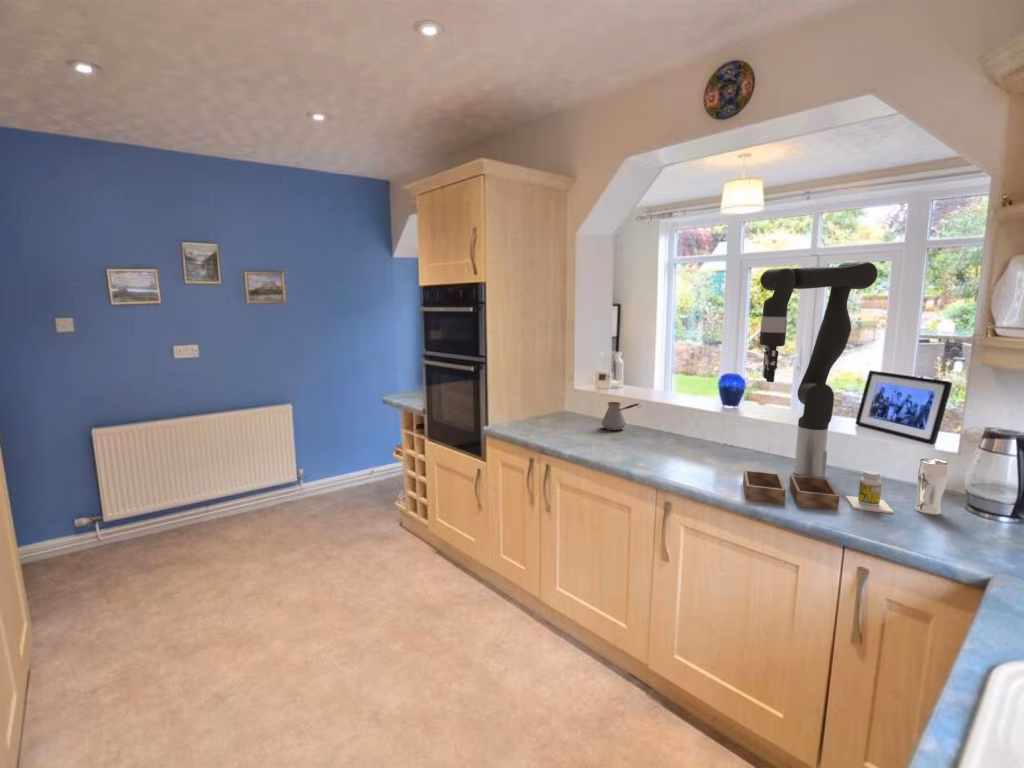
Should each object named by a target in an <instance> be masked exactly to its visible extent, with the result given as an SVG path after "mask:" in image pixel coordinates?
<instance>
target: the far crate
mask: <svg viewBox="0 0 1024 768" xmlns="http://www.w3.org/2000/svg"><path fill="white" fill-rule="evenodd" d="M742 476H743V477H742V478H743V480H742V486H743V490H744V491H743V493H744V495H745V496H744V497H745V500H746V501H752V502H760V503H768V504H769V503H770V504H777V505H785V503H786V491H787V489H786V487H785V484H784V482H783V480H782V477H781V475H780V473H776V472H775V473H774V472H767V471H756V470H746V469H744V470H743V475H742ZM751 484H753V485H751ZM760 485H761V486H760ZM769 486H770V487H769Z"/></svg>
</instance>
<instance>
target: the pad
mask: <svg viewBox="0 0 1024 768" xmlns="http://www.w3.org/2000/svg"><path fill="white" fill-rule="evenodd" d="M845 499H846V501H847V502H848V504H849V505H850V507H852V509H853V510H860V511H868V512H877V513H884V514H885V513H886V514H891V515H892V514H895V513H894V510H893V509H892V508H891V507H890V506H889V505H888V503H886V501H885V500H884V499H880V503H879V505H878V506H868V505H864V504H861V503H860V502H859V501H858V496H850V495H845Z"/></svg>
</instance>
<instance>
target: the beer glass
mask: <svg viewBox="0 0 1024 768" xmlns="http://www.w3.org/2000/svg"><path fill="white" fill-rule="evenodd" d="M948 475H949V463H948V462H946V461H944V460H941V459H934V458H920V459H919V461H918V465H917V469H916V486H917V487H916V488H917V499H916V503H915V505H914V510H915V511H916V510H917V511H916V512H918V511H919V513H921V514H925V515H930V516H932V515H933V516H939V515H941V513H942V509H941V500H942V497H943V495H944V492H945V488H946V485H947V483H948Z"/></svg>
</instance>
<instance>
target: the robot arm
mask: <svg viewBox="0 0 1024 768" xmlns="http://www.w3.org/2000/svg"><path fill="white" fill-rule="evenodd" d="M760 276H761V277H760V281H759V283H760V285H761V287H762V288H763V289H765V290H766V291H770V292H771V291H772V292H773V293H772V295H771V297H769V298H766V299H764V301H763V310H762V318H761V323H760V332H759V341H758V342H759V343H758V344H759V345H761V346H766V347H764V350H763V367H764V370H763V379H765V381H766V382H767V383H774V382H775V374H776V370H777V369H778V366H777V365H778V361H779V360H778V359H779V350H778V349H777V348H778V347H784V346H785V345H786V338H787V337H786V336H787V325H788V323H787V318H788V317H787V316H788V305H789V302H790V299H791V297H792V294H793V291H794V290H805V289H806V290H808V289H818V288H819V289H821V288H829V287H830V292H829V296H828V302H827V305H826V308H825V312H824V315H823V317H822V321H821V324H820V326H819V329H818V333H817V336H816V339H815V344H814V346H813V348H812V349H813V350H812V353H811V356H810V360H809V363H808V365H807V369H806V370H805V372H804V376H803V377H802V379H801V382H800V384H799V386H798V388H797V398H798V401H799V402H800V403H801V404H802V405H804V406H803V413H802V415H801V416H800V417H798V422H797V431H796V433H797V434H796V442H795V443H796V445H795V446H796V447H795V459H794V466H793V467H794V468H793V469H794V470H793V472H794V475H796V476H806V477H816V478H825V479H826V471H827V468H826V467H827V458H828V450H827V442H828V441H827V440H828V433H829V425H830V422H831V420H832V419H833V418H832V417H833V410H834V403H835V394H834V390H833V389H832V388H831V386H829V385H828V384H827V380H828V376H829V374H830V372H831V369H832V368H833V366H834V364H835V363H836V362H837V360H838V359H840V357H841V355H842V354H843V353H844V351H845V349H846V347H847V344H848V341H849V338H850V335H851V333H852V332H851V331H852V323H851V318H850V315H849V314H850V313H849V310H848V300H849V297H850V293H851V290H865V289H867V288H869V287H871V286H872V285H874V283H875V282H876V280H877V278H878V269H877V267H876V265H875V264H873V263H872V262H870V261H865V260H846V261H842V262H841V263H839V264H838V265H837V266H800V267H792V268H789V267H779V268H776V267H775V268H768V269H767V270H764V272H763V273H762V275H760Z"/></svg>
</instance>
